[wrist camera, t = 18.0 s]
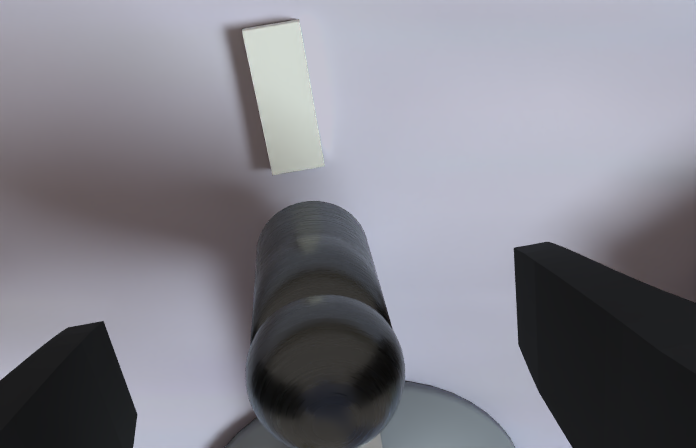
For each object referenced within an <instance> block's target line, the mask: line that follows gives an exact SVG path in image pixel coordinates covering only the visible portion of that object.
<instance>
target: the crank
mask: <svg viewBox="0 0 696 448" xmlns="http://www.w3.org/2000/svg"><path fill="white" fill-rule="evenodd" d="M245 371H246V388H247V393H248V397H249V401H250V403H251V406H252V408H253V410H254V412H255V414H256V416H257V418H258V420H259V421H260V422H261V424H262V425H263V426H264V428H265V429H266V430H267V431H268V432H269V433H270V434H271V435H272V436H273V437H274V438H276V439H277V440H278V441H280V442H281V443H283V444H284V445H286V446H288V447H289V448H382V442H381V436H380V433H381V432H382V431H383V429H384V428H385V427H386V426H387V425H388V423H389V422H390V421H391V419H392V417H393V416H394V414H395V412H396V410H397V408H398V406H399V403H400V401H401V397H402V393H403V389H404V382H405V364H404V358H403V353H402V349H401V347H400V344H399V341H398V339H397V337H396V335H395V333H394V331H393V329H392V326H391V322H390V319H389V315H388V312H387V308H386V305H385V301H384V298H383V294H382V291H381V287H380V284H379V280H378V277H377V273H376V270H375V266H374V263H373V259H372V256H371V252H370V249H369V245H368V242H367V238H366V235H365V233H364V230H363V228H362V227H361V225H360V224H359V222H358V221H357V220H356V219H355V218H354V217H353V216H352V215H351V214H350V213H349V212H347V211H346V210H344V209H343V208H341V207H339V206H336V205H334V204H331V203H327V202H320V201H307V202H301V203H297V204H294V205H291V206H288V207H287V208H285V209H283V210H281V211H280V212H278V213H277V214H276V215H274V216H273V217H272V218H271V219H270V220H269V222H268V223H267V224H266V225H265V227H264V228H263V230H262V232H261V234H260V237H259V240H258V245H257V256H256V270H255V285H254V299H253V314H252V329H251V343H250V349H249V352H248V356H247V362H246V369H245Z"/></svg>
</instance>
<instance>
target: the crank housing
mask: <svg viewBox="0 0 696 448" xmlns="http://www.w3.org/2000/svg"><path fill="white" fill-rule="evenodd" d="M242 33H243V38H244V43H245V48H246V52H247V57H248V62H249V66H250V71H251V76H252V81H253V85H254V90H255V95H256V100H257V104H258V109H259V114H260V118H261V123H262V128H263V133H264V137H265V142H266V147H267V152H268V156H269V161H270V166H271V170H272V175H278V174H283V173H289V172H295V171H300V170H306V169H312V168H318V167H323V166H325V165H324V159H323V153H322V148H321V142H320V136H319V131H318V125H317V119H316V113H315V108H314V102H313V96H312V90H311V85H310V79H309V73H308V67H307V62H306V56H305V50H304V44H303V39H302V33H301V27H300V22H299V19H297V20H292V21H286V22H280V23H274V24H268V25H262V26H256V27H250V28H244V29H243V30H242ZM380 436H381V442H382V448H515V446H514V444H513V442H512V441H511V439H510V437H509V436H508V435H507V433H506V432H505V431H504V430H503V428H502V427H501V426H500V425H499V424H498V423H497V422H496V421H495V420H494V419H493V418H492V417H491V416H490V415H489V414H487V413H486V412H485V411H483V410H482V409H480V408H479V407H477V406H476V405H474V404H473V403H471V402H470V401H468V400H466V399H464V398H461V397H459V396H457V395H455V394H453V393H451V392H448V391H445V390H442V389H439V388H436V387H433V386H428V385H423V384H418V383H413V382H406V381H405V382H404V389H403V393H402V397H401V401H400V403H399V406H398V408H397V410H396V412H395V414H394V416H393V417H392V419H391V421H390V422H389V423H388V425H387V426H386V427H385V428H384V429H383V431H382V432H381V433H380ZM225 448H289V447H288V446H286V445H284V444H283V443H281V442H280V441H278V440H277V439H276V438H274V437H273V436H272V435H271V434H270V433H269V432H268V431H267V430H266V429H265V428H264V426H263V425H262V424H261V422H260V421H259V420H258V418H256V419H254V420H253V421H252V422H251V423H250V424H248V425H247V426H246V427H245V428H244V429H242V430H241V431H240V432H239V433H238V434H237V435H236V436H235V437H234V438H233V439H232V440H231V441H230V442H229V443H228V444H227V445H226V447H225Z"/></svg>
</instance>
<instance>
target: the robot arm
mask: <svg viewBox="0 0 696 448" xmlns="http://www.w3.org/2000/svg"><path fill="white" fill-rule="evenodd" d="M514 262H515V282H516V303H517V324H518V344H519V347H520V350H521V352H522V354H523V357H524V359H525V361H526V364H527V366H528V369H529V371H530V373H531V375H532V378H533V380H534V382H535V384H536V387H537V389H538V391H539V393H540V395H541V396H542V398H543V400H544V401H545V403H546V405H547V406H548V408H549V410H550V411H551V413H552V415H553V416H554V418H555V420H556V421H557V423H558V425H559V426H560V428H561V430H562V431H563V433H564V434H565V436H566V438H567V439H568V441H569V443H570V444H571V446H572V447H573V448H696V303H694V302H692V301H689V300H686V299H684V298H681V297H678V296H676V295H673V294H670V293H668V292H665V291H663V290H660V289H658V288H655V287H653V286H650V285H648V284H645V283H643V282H641V281H638V280H636V279H634V278H631V277H629V276H627V275H625V274H622V273H620V272H618V271H615V270H613V269H611V268H609V267H607V266H604V265H602V264H600V263H598V262H596V261H593V260H591V259H589V258H587V257H584V256H582V255H580V254H578V253H576V252H573V251H571V250H569V249H566V248H564V247H562V246H559V245H556V244H553V243H551V242H544V243H538V244H533V245H527V246H521V247H516V248H514ZM136 420H137V412H136V410H135V407H134V404H133V401H132V399H131V396H130V393H129V390H128V388H127V385H126V382H125V379H124V376H123V374H122V371H121V368H120V365H119V363H118V360H117V357H116V354H115V352H114V349H113V346H112V343H111V341H110V338H109V335H108V332H107V330H106V327H105V324H104V321H102V322H96V323H90V324H85V325H79V326H74V327H68V328H67V329H65V330H64V331H62V332H60V333H59V334H58V335H56V336H55V337H53V338H52V339H51V340H49V341H48V342H47V343H46V344H44V345H43V346H42V347H41V348H39V349H38V350H37V351H36V352H34V353H33V354H32V355H31V356H29V357H28V358H27V359H26V360H25V361H23V362H22V363H21V364H20V365H18V366H17V367H16V368H15V369H14V370H12V371H11V372H10V373H9V374H8V375H6V376H5V377H4V378H3V379H1V380H0V448H133V444H134V436H135V428H136Z"/></svg>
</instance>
